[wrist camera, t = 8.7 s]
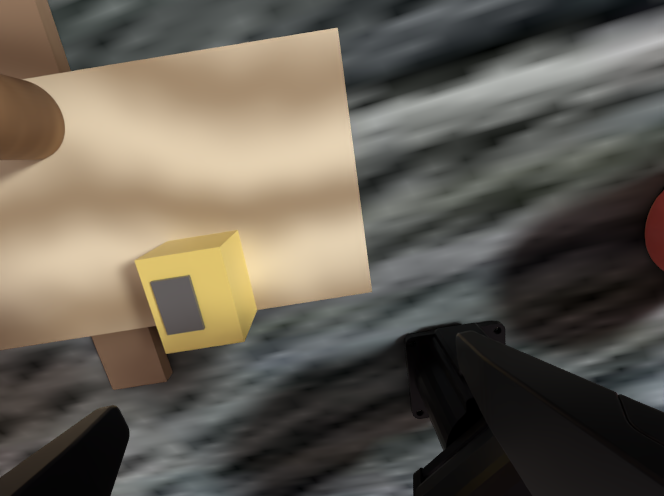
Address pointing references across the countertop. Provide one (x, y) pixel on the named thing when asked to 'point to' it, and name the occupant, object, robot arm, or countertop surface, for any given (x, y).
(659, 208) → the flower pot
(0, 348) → the panel
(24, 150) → the awl
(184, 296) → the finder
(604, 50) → the countertop surface
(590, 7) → the countertop surface
